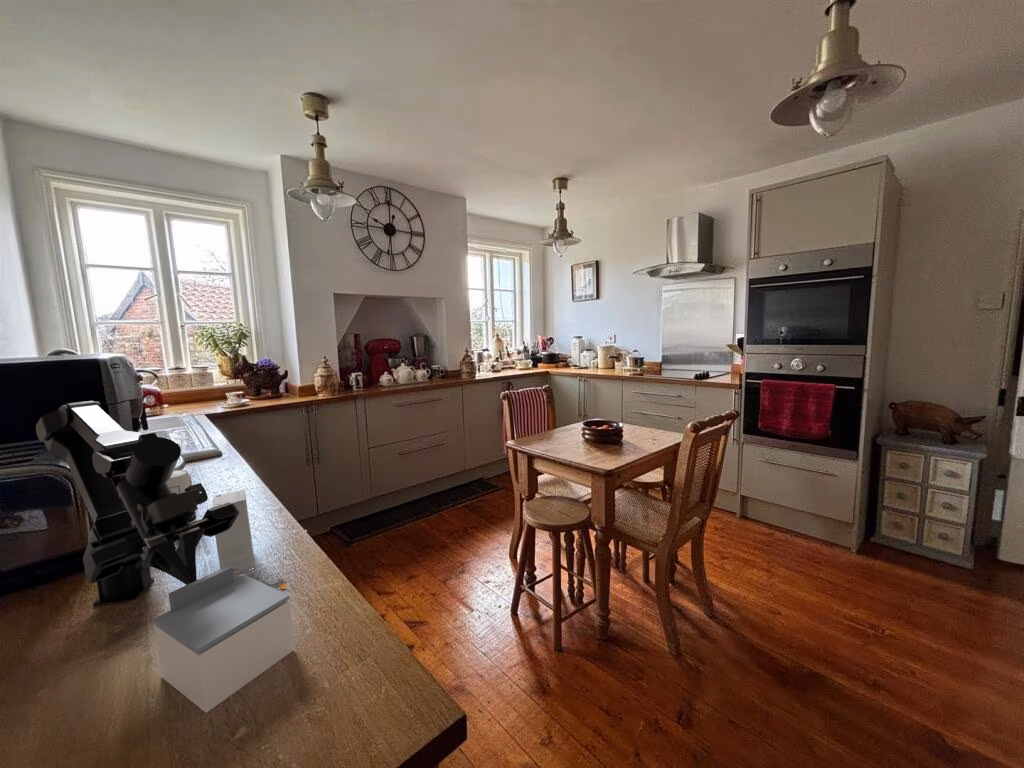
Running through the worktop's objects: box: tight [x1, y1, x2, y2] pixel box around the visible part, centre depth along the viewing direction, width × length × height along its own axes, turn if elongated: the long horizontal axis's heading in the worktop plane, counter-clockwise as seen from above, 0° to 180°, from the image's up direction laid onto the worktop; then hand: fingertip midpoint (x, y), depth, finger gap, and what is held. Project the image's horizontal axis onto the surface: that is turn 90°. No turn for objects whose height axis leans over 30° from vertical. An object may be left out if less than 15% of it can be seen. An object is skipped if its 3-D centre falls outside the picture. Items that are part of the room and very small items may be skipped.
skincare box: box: [211, 489, 255, 575], centre depth 87 cm, size 8×6×15 cm
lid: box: [152, 566, 290, 654], centre depth 60 cm, size 12×12×3 cm
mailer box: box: [153, 600, 295, 714], centre depth 61 cm, size 12×12×8 cm
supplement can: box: [166, 469, 198, 524], centre depth 101 cm, size 8×8×15 cm
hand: (193, 583), depth 64 cm, fingers closed
